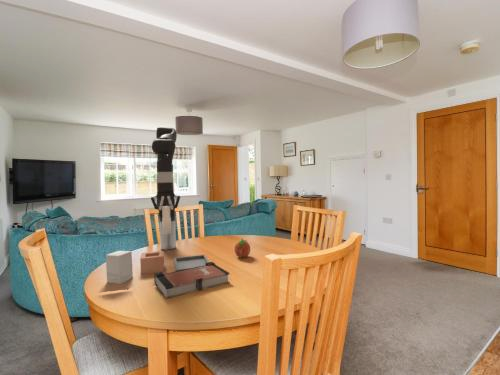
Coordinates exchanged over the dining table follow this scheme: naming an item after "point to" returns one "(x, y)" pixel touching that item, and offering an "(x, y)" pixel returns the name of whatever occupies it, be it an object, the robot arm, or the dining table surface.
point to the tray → (190, 262)
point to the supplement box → (119, 266)
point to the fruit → (242, 248)
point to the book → (190, 280)
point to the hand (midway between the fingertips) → (166, 217)
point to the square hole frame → (152, 262)
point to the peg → (166, 219)
